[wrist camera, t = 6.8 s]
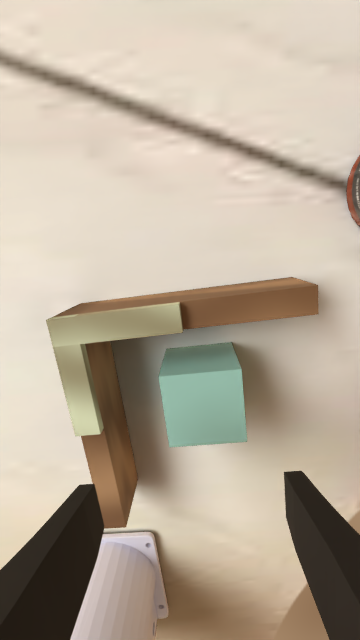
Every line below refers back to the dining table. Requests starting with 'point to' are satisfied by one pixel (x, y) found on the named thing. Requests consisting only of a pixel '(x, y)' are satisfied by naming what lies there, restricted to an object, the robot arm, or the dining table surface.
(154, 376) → the dining table surface
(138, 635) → the robot arm
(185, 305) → the corner arena
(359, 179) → the supplement bottle
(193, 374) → the teal cube
